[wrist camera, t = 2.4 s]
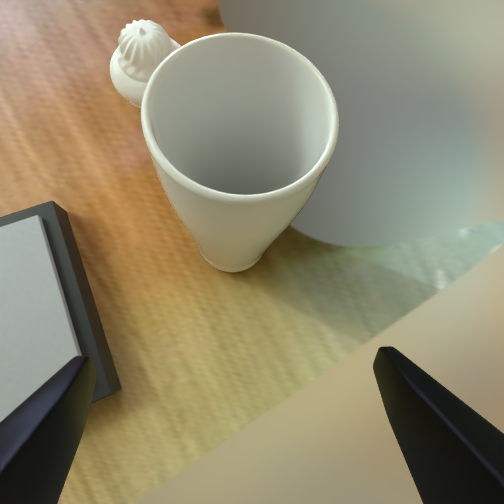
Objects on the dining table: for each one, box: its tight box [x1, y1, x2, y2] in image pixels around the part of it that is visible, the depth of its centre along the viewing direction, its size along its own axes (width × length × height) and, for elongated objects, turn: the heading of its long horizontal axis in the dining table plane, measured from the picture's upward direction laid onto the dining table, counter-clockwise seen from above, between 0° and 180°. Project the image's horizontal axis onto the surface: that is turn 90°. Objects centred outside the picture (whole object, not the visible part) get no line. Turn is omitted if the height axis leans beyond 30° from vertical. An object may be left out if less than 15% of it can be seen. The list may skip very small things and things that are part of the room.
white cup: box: [141, 33, 339, 272], centre depth 17 cm, size 7×7×15 cm
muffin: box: [110, 19, 181, 110], centre depth 24 cm, size 6×6×7 cm
